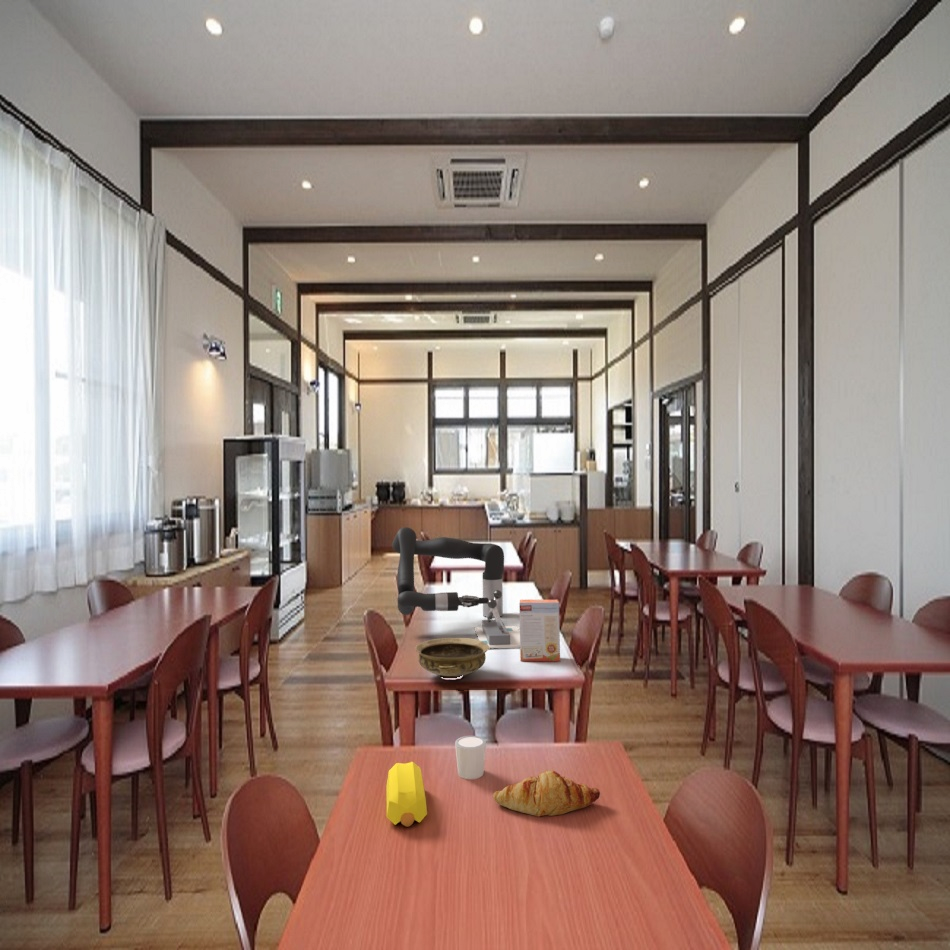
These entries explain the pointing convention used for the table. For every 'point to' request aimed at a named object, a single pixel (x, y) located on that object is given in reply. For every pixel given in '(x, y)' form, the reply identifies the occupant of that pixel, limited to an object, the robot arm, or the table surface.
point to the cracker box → (539, 630)
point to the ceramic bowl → (452, 656)
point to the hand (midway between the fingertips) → (488, 600)
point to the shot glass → (470, 756)
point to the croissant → (546, 795)
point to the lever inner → (497, 595)
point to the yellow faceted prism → (405, 794)
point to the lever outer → (496, 614)
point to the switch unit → (498, 635)
